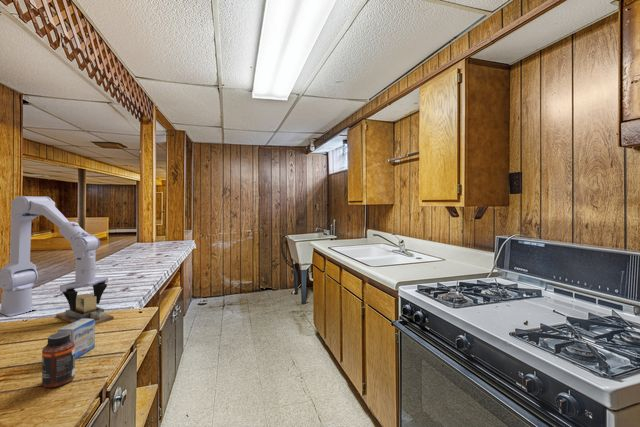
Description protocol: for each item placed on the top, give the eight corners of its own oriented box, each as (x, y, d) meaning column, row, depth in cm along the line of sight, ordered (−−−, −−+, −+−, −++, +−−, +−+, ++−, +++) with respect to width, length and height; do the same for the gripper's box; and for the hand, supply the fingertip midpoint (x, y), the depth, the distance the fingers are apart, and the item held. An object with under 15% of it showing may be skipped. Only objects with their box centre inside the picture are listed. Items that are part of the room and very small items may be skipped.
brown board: (56, 316, 110) (56, 308, 110) (84, 309, 118) (84, 301, 118) (85, 327, 102) (85, 319, 102) (113, 319, 110) (113, 310, 110)
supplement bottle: (81, 375, 75) (81, 330, 75) (58, 390, 69) (58, 341, 69) (59, 373, 76) (59, 328, 75) (34, 387, 70) (35, 339, 70)
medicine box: (72, 361, 81) (73, 329, 81) (56, 360, 82) (56, 329, 81) (95, 347, 89) (95, 318, 89) (80, 346, 89) (80, 317, 89)
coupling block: (83, 318, 107) (84, 299, 107) (74, 315, 110) (74, 296, 109) (96, 315, 111) (96, 296, 110) (86, 311, 113) (87, 293, 113)
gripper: (67, 274, 101) (67, 314, 102) (113, 267, 114) (112, 302, 115) (56, 271, 104) (56, 310, 105) (102, 264, 117) (101, 299, 118)
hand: (85, 306), depth 110 cm, fingers open, 7 cm apart
